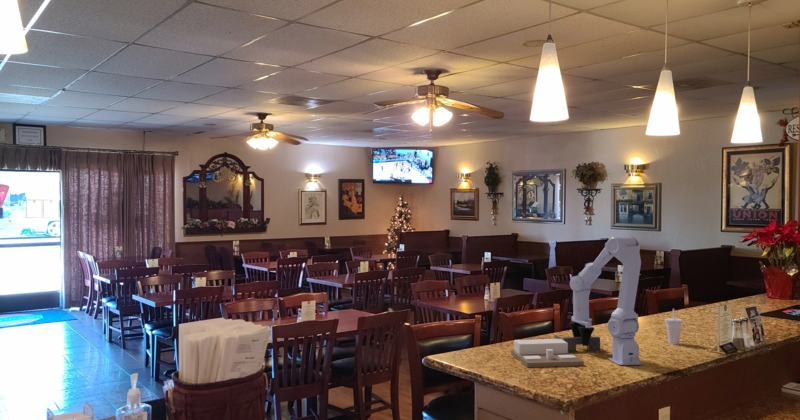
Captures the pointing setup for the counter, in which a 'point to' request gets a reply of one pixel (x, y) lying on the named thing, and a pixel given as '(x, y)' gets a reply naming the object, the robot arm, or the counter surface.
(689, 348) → the counter surface
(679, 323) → the smoothie
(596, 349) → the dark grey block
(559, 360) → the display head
